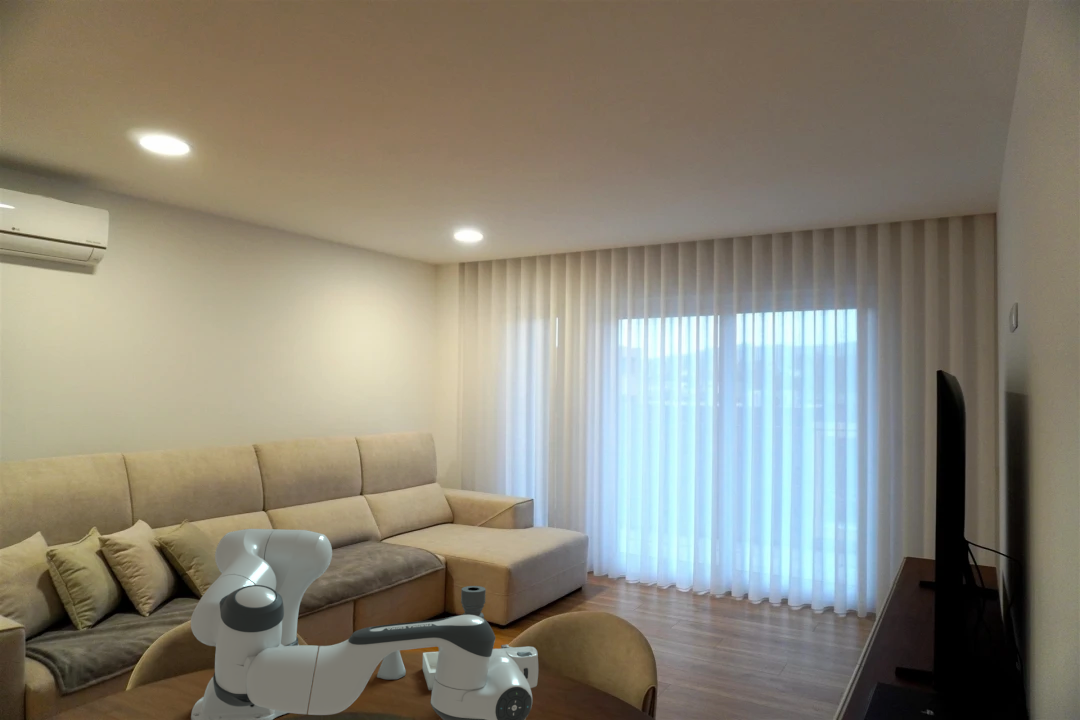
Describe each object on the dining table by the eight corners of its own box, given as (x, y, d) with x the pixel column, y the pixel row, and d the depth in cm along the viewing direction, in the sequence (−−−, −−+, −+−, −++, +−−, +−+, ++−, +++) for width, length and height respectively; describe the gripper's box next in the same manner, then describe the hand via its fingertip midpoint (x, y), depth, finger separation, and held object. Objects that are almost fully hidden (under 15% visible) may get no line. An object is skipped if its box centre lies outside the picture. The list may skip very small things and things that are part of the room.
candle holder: (454, 694, 165) (457, 586, 166) (479, 691, 167) (481, 584, 169) (461, 705, 159) (464, 593, 161) (487, 701, 161) (490, 591, 163)
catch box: (428, 690, 167) (429, 673, 167) (422, 668, 180) (422, 652, 181) (486, 685, 171) (486, 668, 171) (475, 664, 184) (476, 648, 184)
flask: (399, 682, 172) (400, 640, 172) (371, 679, 173) (373, 637, 174) (410, 671, 179) (411, 631, 179) (384, 668, 180) (385, 628, 181)
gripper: (443, 695, 136) (434, 668, 149) (544, 685, 141) (527, 660, 155) (444, 661, 136) (435, 638, 150) (545, 653, 142) (528, 631, 155)
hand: (483, 649), depth 152 cm, fingers open, 8 cm apart
